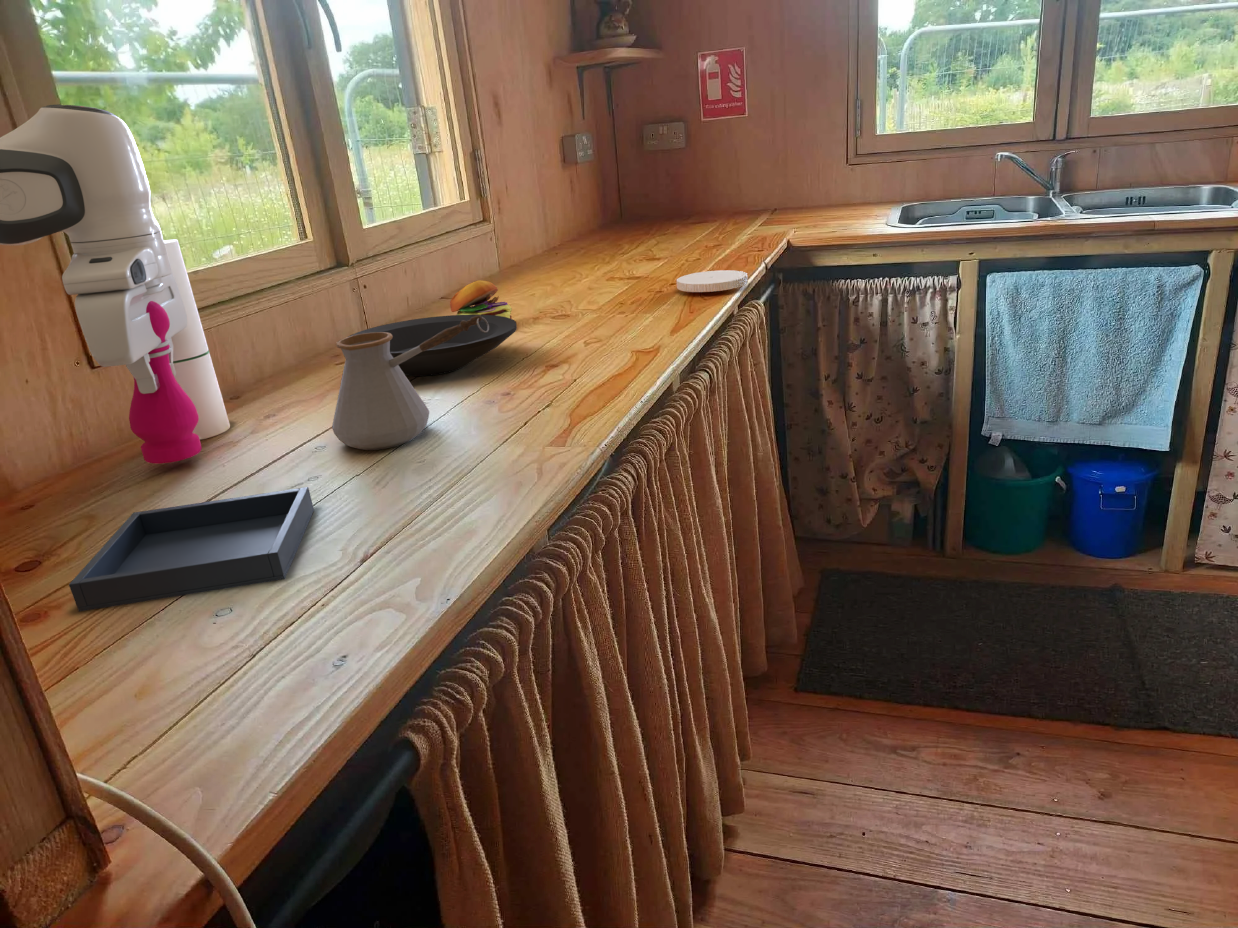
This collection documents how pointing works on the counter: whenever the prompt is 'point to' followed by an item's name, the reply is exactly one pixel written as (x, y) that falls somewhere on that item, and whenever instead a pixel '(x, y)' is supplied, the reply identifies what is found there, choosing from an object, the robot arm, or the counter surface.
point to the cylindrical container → (195, 357)
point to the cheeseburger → (479, 300)
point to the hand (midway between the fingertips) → (159, 385)
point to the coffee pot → (382, 391)
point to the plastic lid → (712, 281)
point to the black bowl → (450, 352)
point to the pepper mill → (164, 405)
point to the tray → (196, 549)
